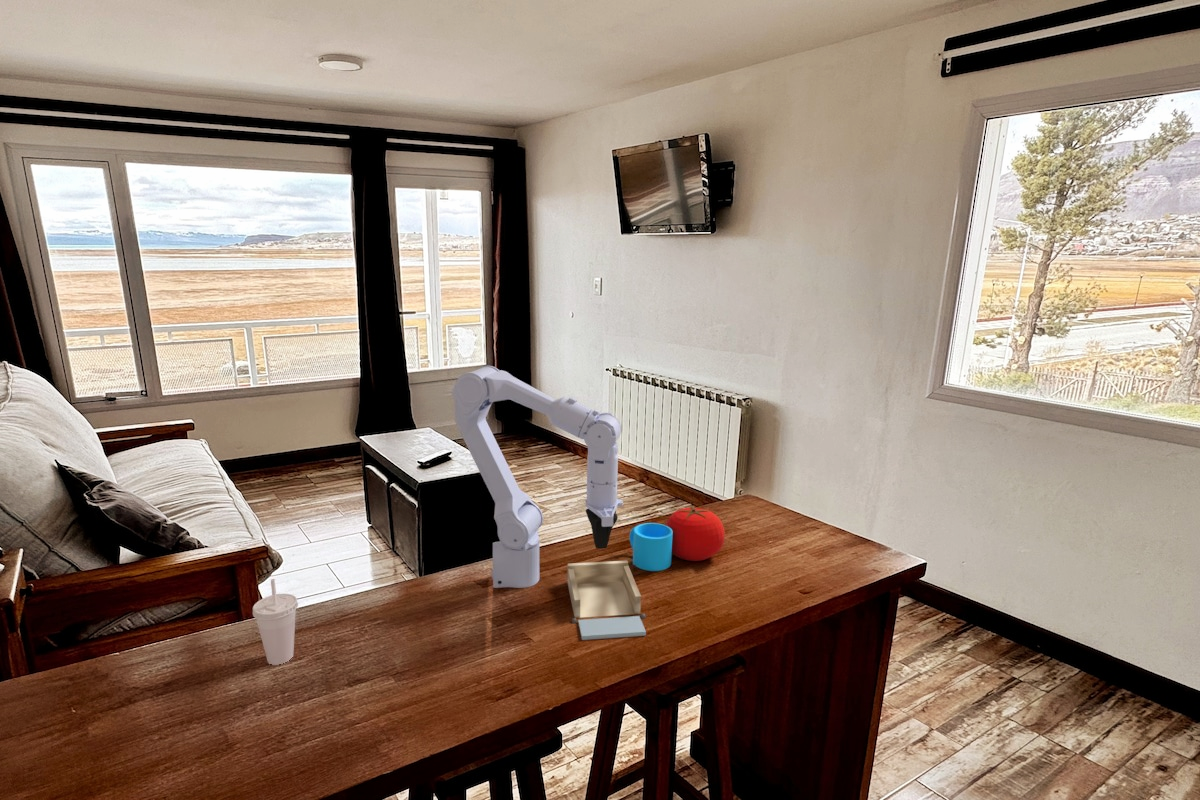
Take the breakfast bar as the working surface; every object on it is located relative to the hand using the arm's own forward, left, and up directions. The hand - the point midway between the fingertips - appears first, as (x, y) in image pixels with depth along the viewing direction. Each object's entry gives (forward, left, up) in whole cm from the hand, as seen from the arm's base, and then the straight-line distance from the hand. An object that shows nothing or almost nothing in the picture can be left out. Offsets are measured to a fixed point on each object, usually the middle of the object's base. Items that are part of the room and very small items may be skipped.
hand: (600, 546), depth 121 cm
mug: (+12, +12, -10) cm, 20 cm away
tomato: (+23, +14, -10) cm, 29 cm away
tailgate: (0, -11, -9) cm, 14 cm away
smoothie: (-54, -14, -10) cm, 57 cm away
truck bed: (0, -3, -10) cm, 10 cm away
